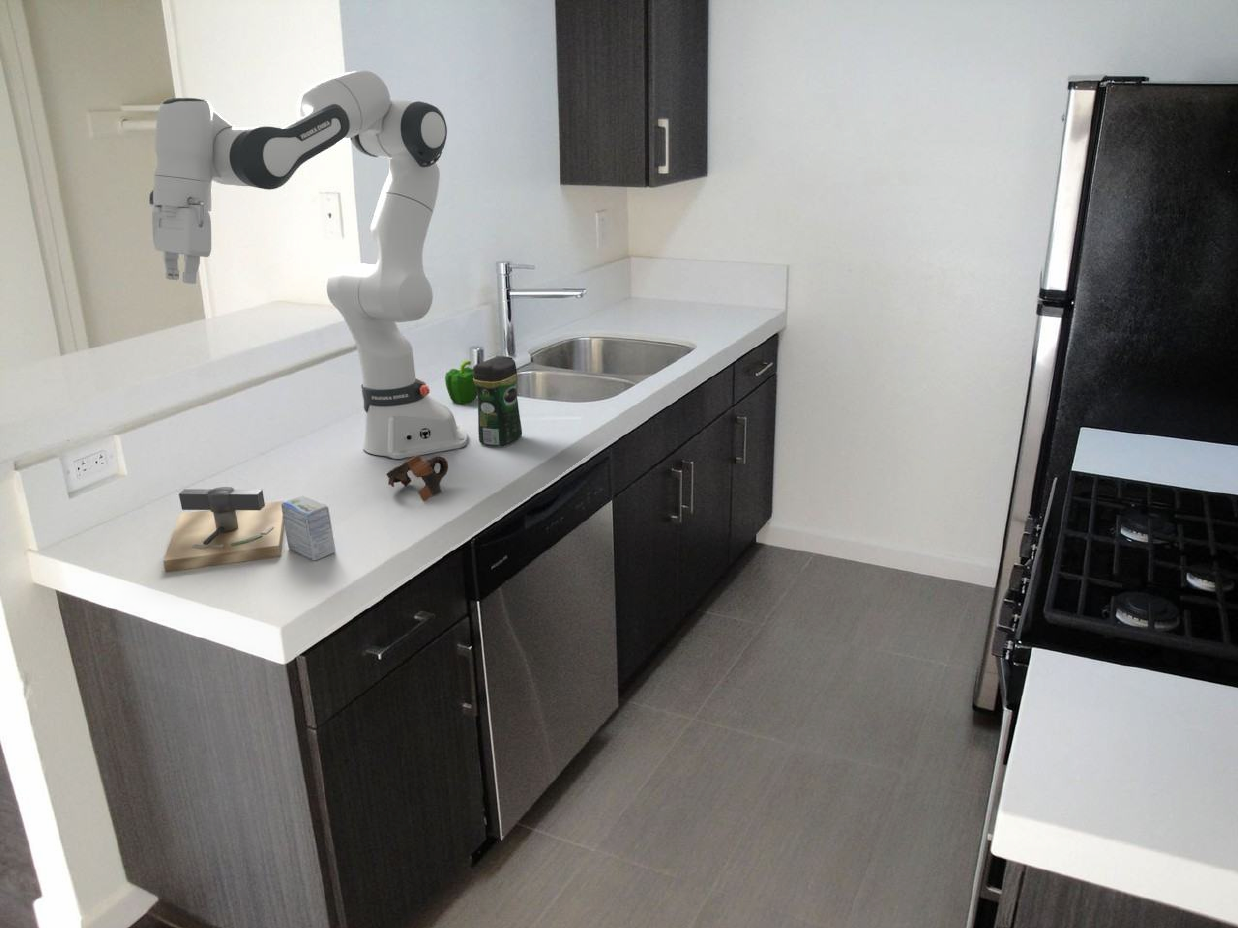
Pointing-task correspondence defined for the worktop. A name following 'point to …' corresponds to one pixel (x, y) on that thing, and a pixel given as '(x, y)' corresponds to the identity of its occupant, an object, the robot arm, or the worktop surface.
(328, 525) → the medicine box
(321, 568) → the worktop surface
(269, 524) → the tuner board
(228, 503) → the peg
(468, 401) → the bell pepper
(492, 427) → the coffee jar
